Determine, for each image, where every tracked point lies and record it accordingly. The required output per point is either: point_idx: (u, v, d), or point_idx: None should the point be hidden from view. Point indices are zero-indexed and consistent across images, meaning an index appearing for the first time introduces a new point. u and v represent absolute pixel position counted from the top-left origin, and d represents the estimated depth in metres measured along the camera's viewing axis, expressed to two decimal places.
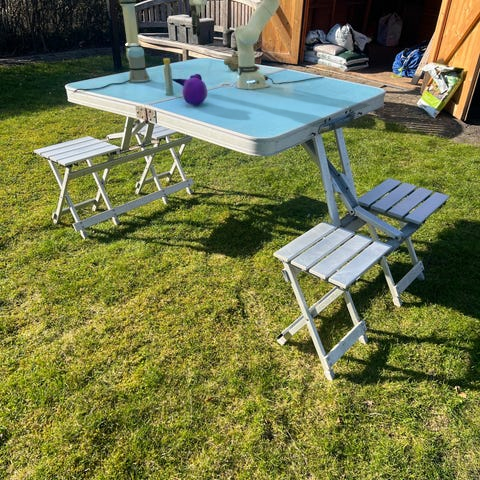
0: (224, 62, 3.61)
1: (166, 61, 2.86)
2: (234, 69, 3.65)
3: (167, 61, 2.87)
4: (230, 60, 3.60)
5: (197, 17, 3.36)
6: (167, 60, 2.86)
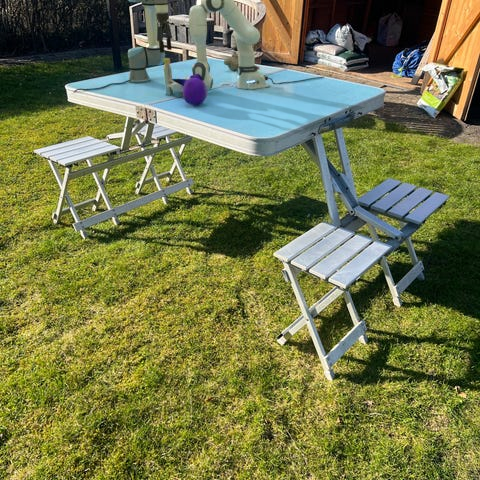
0: (224, 62, 3.61)
1: (166, 61, 2.86)
2: (234, 69, 3.65)
3: (167, 61, 2.87)
4: (230, 60, 3.60)
5: None
6: (167, 60, 2.86)
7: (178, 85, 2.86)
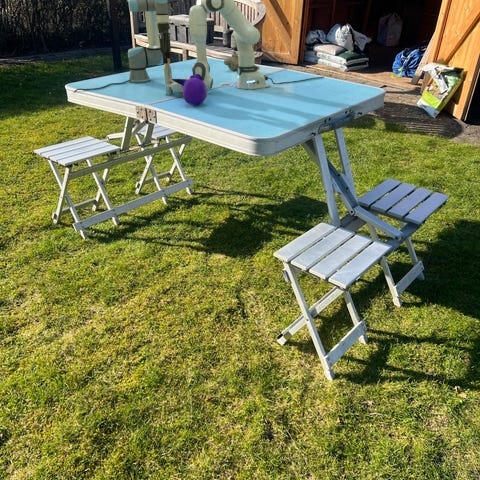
0: (224, 62, 3.61)
1: None
2: (234, 69, 3.65)
3: None
4: (230, 60, 3.60)
5: None
6: None
7: (178, 85, 2.86)
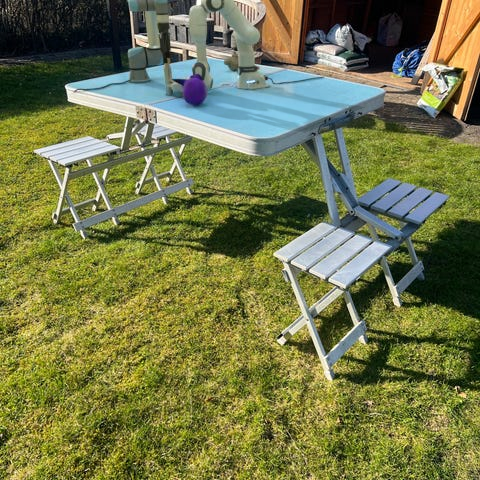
0: (224, 62, 3.61)
1: None
2: (234, 69, 3.65)
3: None
4: (230, 60, 3.60)
5: None
6: None
7: (178, 85, 2.86)
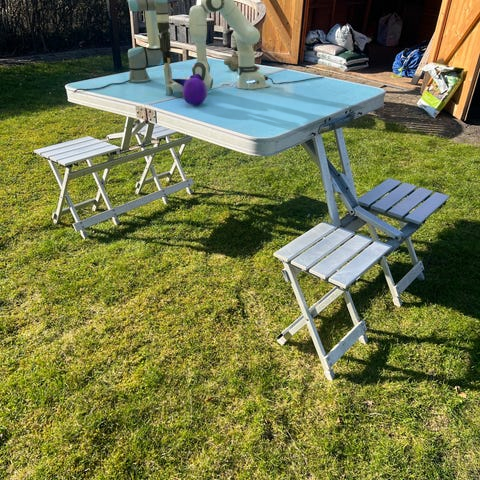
0: (224, 62, 3.61)
1: None
2: (234, 69, 3.65)
3: None
4: (230, 60, 3.60)
5: None
6: None
7: (178, 85, 2.86)
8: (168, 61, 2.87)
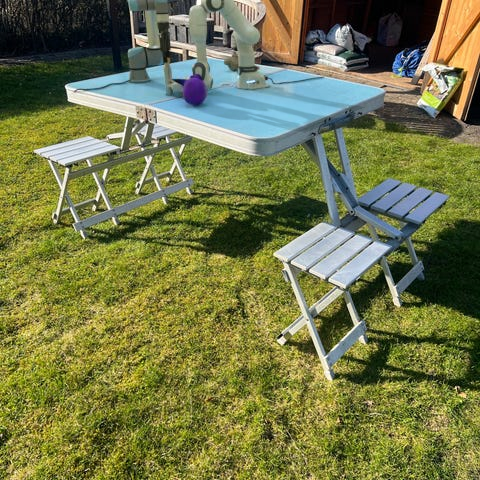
0: (224, 62, 3.61)
1: None
2: (234, 69, 3.65)
3: None
4: (230, 60, 3.60)
5: None
6: (167, 59, 2.86)
7: (178, 85, 2.86)
8: None
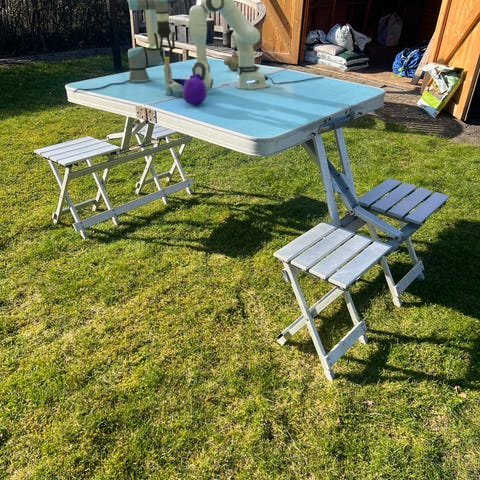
0: (224, 62, 3.61)
1: None
2: (234, 69, 3.65)
3: None
4: (230, 60, 3.60)
5: (155, 39, 2.80)
6: None
7: (178, 85, 2.86)
8: None
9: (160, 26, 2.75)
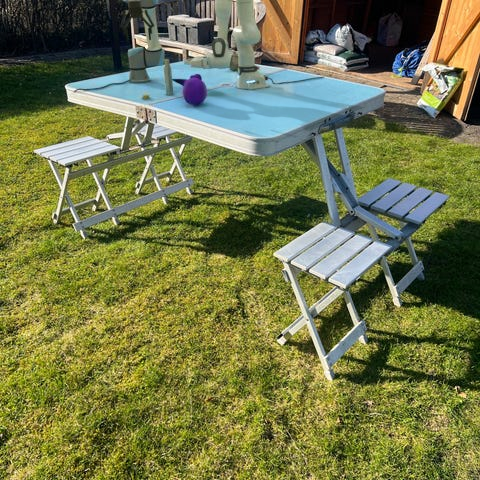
0: None
1: None
2: (234, 69, 3.65)
3: None
4: None
5: (123, 16, 2.65)
6: None
7: (197, 62, 2.78)
8: None
9: (129, 6, 2.60)
